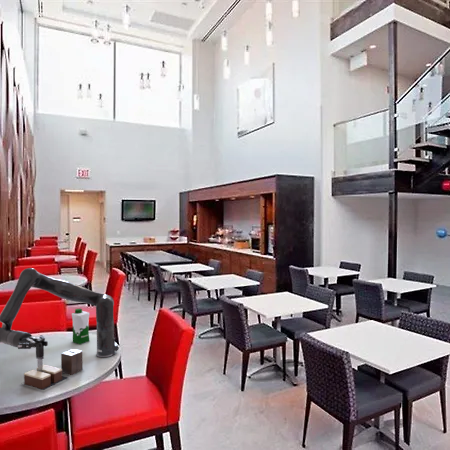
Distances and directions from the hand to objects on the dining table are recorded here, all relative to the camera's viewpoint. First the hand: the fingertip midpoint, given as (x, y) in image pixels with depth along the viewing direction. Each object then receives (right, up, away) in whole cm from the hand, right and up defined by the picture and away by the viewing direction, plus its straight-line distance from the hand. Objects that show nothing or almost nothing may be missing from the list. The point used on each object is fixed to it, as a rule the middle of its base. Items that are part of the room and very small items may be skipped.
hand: (44, 344), depth 174 cm
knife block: (+8, -18, +12) cm, 23 cm away
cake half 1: (-2, -18, -2) cm, 18 cm away
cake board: (-1, -18, +1) cm, 18 cm away
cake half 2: (+1, -18, +4) cm, 18 cm away
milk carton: (-5, -17, +57) cm, 59 cm away
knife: (-3, -17, +2) cm, 17 cm away
